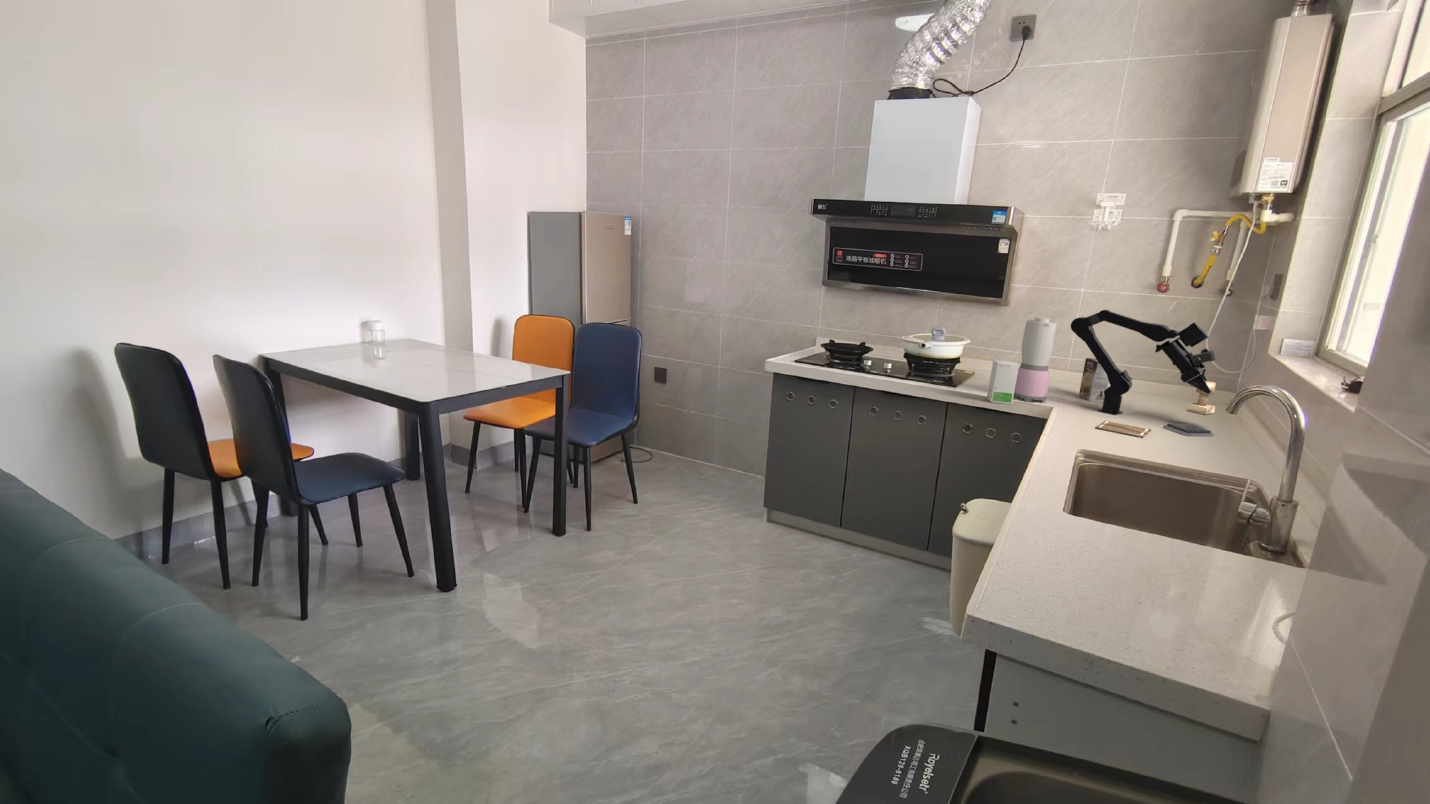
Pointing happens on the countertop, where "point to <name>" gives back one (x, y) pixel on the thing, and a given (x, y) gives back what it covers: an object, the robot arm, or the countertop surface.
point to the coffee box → (1093, 381)
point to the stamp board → (1123, 429)
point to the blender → (1035, 359)
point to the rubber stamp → (1203, 401)
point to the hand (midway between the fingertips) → (1209, 391)
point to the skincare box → (1002, 382)
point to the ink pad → (1188, 430)
